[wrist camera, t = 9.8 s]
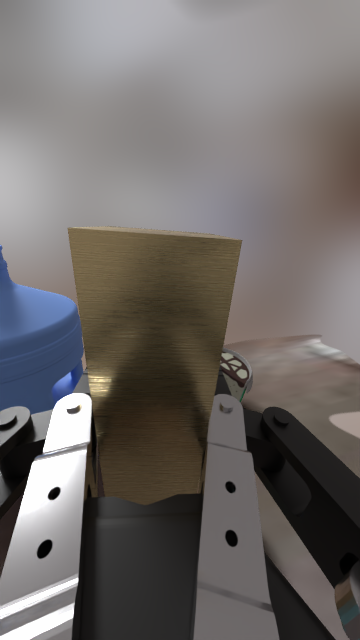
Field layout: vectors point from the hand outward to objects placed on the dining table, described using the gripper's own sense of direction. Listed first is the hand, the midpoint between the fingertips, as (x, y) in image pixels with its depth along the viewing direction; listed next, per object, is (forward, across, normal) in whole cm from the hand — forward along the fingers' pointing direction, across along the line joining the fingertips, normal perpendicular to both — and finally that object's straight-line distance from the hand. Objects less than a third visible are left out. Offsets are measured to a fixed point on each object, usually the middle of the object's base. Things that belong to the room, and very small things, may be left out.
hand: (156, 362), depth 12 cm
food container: (+21, -12, +24) cm, 34 cm away
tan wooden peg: (-3, 0, +11) cm, 11 cm away
